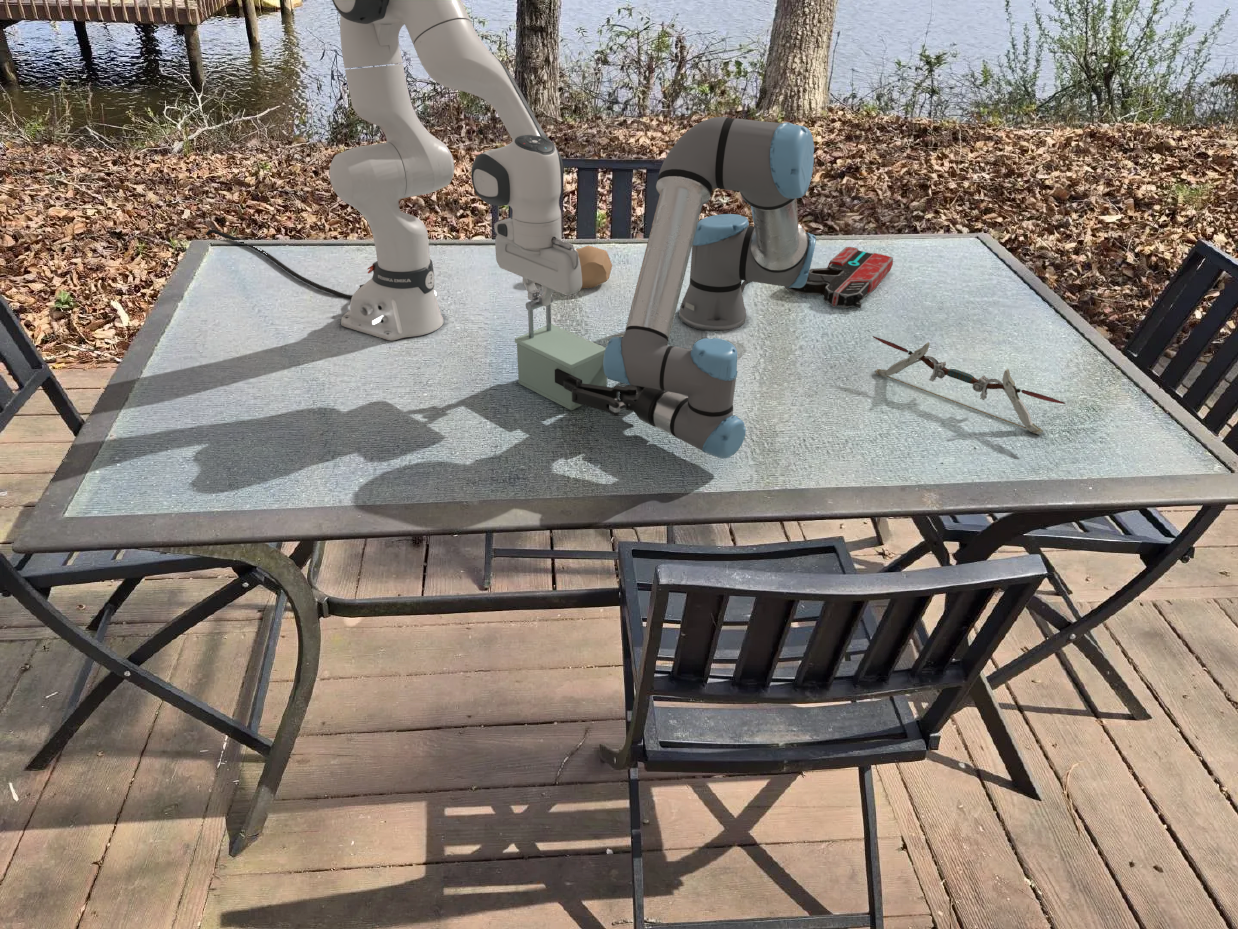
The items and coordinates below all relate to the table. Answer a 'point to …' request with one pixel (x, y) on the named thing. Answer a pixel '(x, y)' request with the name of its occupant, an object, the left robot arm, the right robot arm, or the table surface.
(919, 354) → the bow
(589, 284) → the squash
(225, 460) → the table surface
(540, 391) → the chest
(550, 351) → the lid
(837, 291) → the gun
